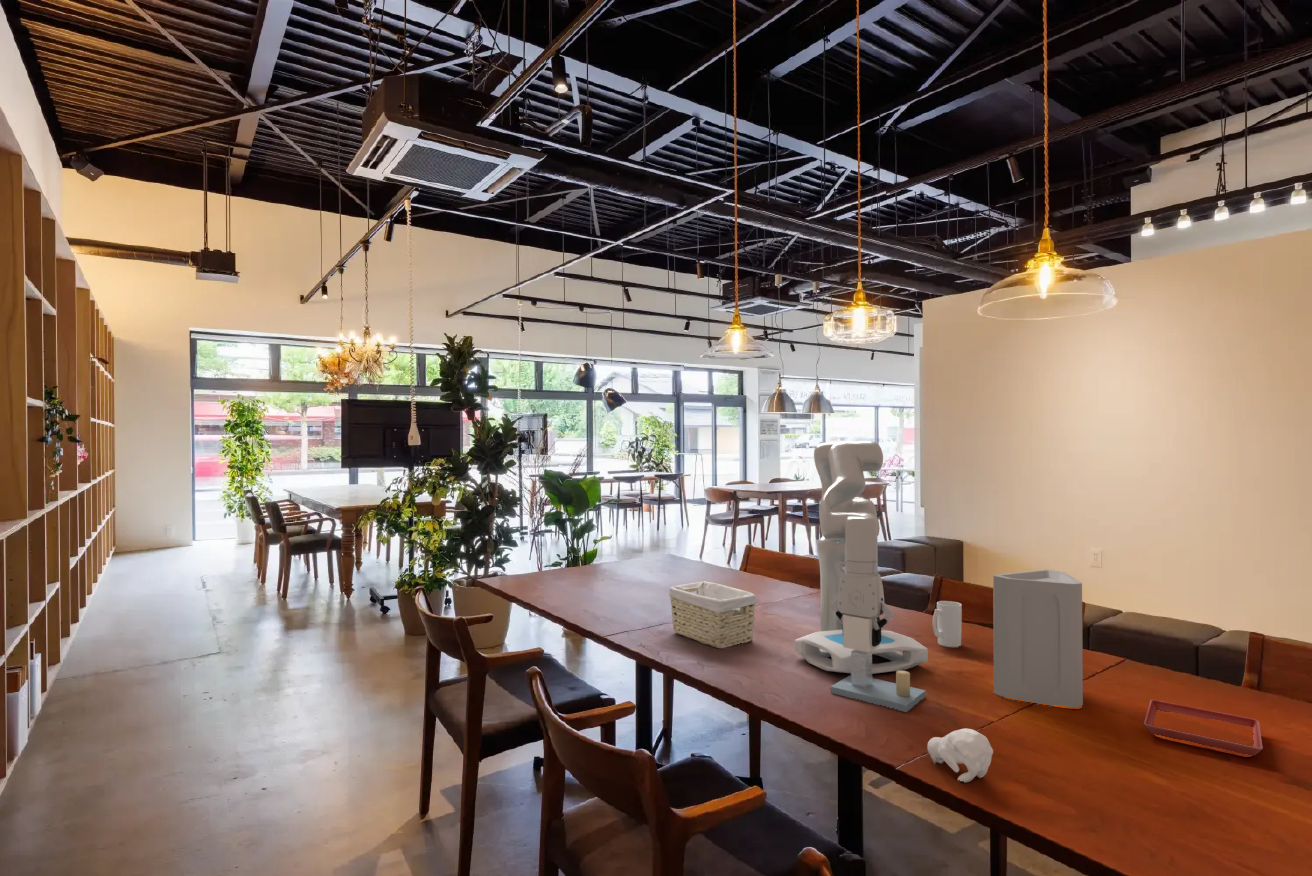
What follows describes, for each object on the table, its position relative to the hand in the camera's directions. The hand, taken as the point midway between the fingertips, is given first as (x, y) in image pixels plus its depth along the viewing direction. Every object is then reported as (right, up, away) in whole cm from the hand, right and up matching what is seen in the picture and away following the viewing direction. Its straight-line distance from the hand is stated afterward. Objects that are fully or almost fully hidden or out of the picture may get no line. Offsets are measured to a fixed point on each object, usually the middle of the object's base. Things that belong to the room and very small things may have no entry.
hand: (861, 641), depth 164 cm
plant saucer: (+61, -12, -25) cm, 68 cm away
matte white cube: (0, -1, 0) cm, 1 cm away
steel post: (0, -10, 0) cm, 10 cm away
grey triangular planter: (+42, -12, -5) cm, 44 cm away
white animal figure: (+5, -12, -40) cm, 42 cm away
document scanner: (+6, -12, +20) cm, 24 cm away
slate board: (+3, -12, -2) cm, 12 cm away
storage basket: (-32, -13, +45) cm, 57 cm away
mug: (+36, -12, +37) cm, 53 cm away
